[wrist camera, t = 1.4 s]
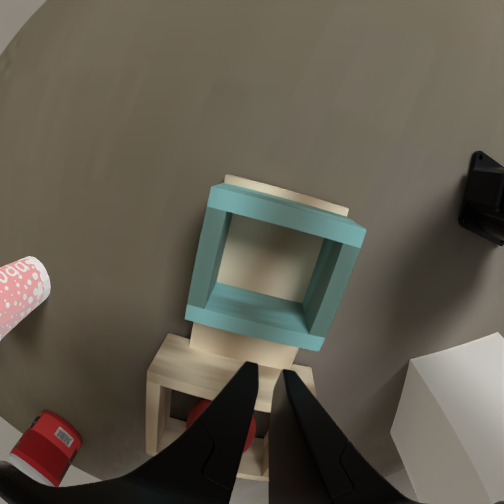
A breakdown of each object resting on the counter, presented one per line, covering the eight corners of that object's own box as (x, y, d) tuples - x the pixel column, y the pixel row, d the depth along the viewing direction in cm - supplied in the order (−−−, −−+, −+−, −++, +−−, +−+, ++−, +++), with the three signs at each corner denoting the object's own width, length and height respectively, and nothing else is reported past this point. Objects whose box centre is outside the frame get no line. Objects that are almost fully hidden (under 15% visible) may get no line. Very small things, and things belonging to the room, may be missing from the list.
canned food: (36, 401, 28) (0, 447, 18) (79, 426, 28) (46, 480, 18) (47, 428, 30) (17, 471, 20) (86, 450, 31) (60, 498, 20)
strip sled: (370, 215, 18) (401, 231, 14) (269, 445, 26) (269, 481, 21) (198, 167, 18) (175, 168, 13) (159, 419, 25) (146, 453, 21)
